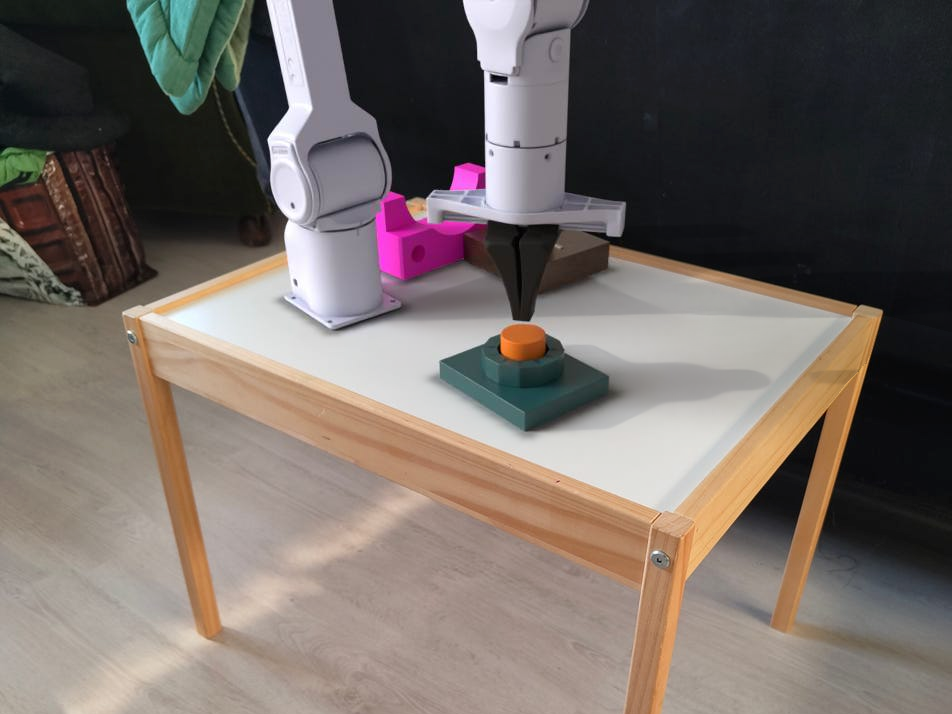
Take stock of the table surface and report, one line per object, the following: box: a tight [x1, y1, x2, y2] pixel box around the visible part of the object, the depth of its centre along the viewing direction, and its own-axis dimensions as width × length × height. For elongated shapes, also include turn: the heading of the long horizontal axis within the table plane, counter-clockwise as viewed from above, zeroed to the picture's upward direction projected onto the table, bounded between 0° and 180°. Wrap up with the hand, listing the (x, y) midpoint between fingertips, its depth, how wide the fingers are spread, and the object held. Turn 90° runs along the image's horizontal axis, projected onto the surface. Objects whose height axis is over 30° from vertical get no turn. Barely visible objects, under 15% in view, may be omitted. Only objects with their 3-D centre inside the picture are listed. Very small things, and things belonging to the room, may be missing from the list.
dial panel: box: [463, 227, 611, 295], centre depth 95 cm, size 12×10×3 cm
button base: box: [439, 333, 610, 432], centre depth 73 cm, size 11×9×4 cm
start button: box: [500, 323, 547, 361], centre depth 72 cm, size 4×4×2 cm
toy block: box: [375, 162, 487, 281], centre depth 96 cm, size 15×6×8 cm, turn 133°
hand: (523, 316), depth 71 cm, fingers closed
